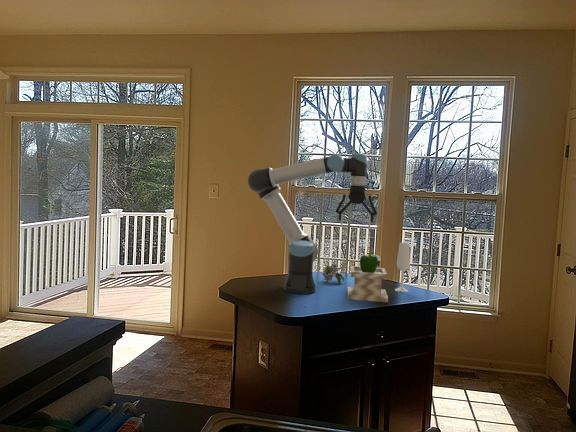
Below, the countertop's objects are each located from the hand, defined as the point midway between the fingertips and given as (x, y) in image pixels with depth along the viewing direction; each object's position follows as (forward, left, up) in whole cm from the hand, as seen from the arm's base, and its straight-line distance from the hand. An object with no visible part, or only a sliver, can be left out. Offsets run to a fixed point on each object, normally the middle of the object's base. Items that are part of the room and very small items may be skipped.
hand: (355, 228), depth 228 cm
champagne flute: (+25, +6, -31) cm, 40 cm away
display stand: (+7, -13, -31) cm, 34 cm away
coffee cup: (+10, +18, -31) cm, 37 cm away
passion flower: (-10, +15, -31) cm, 36 cm away
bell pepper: (+7, -13, -20) cm, 25 cm away
